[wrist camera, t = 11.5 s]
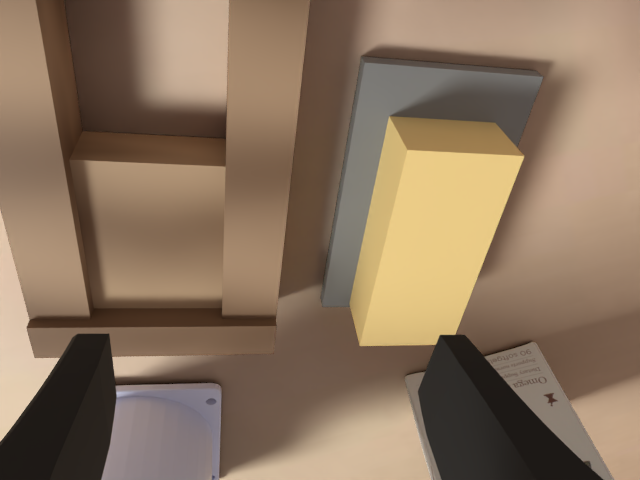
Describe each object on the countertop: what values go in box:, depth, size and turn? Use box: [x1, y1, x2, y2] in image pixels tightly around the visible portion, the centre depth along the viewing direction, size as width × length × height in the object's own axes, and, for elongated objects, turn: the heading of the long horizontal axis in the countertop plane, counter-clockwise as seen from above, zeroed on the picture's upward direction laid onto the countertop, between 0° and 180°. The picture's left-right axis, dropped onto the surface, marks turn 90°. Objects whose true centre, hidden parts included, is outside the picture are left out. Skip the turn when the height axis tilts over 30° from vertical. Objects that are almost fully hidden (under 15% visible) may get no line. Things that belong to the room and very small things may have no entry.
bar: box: [349, 116, 524, 346], centre depth 21 cm, size 9×4×2 cm, turn 173°
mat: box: [321, 56, 543, 307], centre depth 22 cm, size 11×6×1 cm, turn 173°
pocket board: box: [0, 0, 310, 358], centre depth 18 cm, size 15×9×3 cm, turn 173°
